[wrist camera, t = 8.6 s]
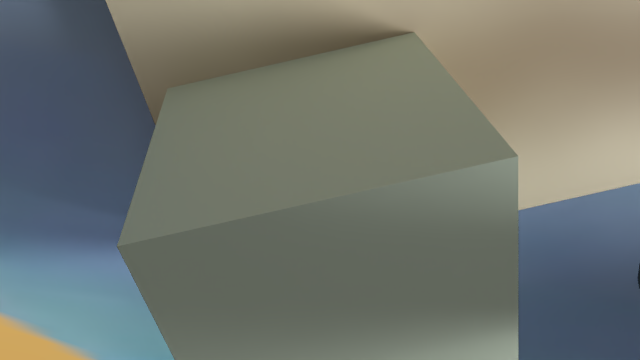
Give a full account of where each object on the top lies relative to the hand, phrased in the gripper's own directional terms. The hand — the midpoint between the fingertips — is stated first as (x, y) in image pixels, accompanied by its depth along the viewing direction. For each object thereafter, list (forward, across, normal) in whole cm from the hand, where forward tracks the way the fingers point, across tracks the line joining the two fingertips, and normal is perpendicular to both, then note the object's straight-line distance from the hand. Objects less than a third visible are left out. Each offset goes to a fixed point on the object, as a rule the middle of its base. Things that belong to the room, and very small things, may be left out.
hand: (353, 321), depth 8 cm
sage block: (+5, 0, 0) cm, 5 cm away
